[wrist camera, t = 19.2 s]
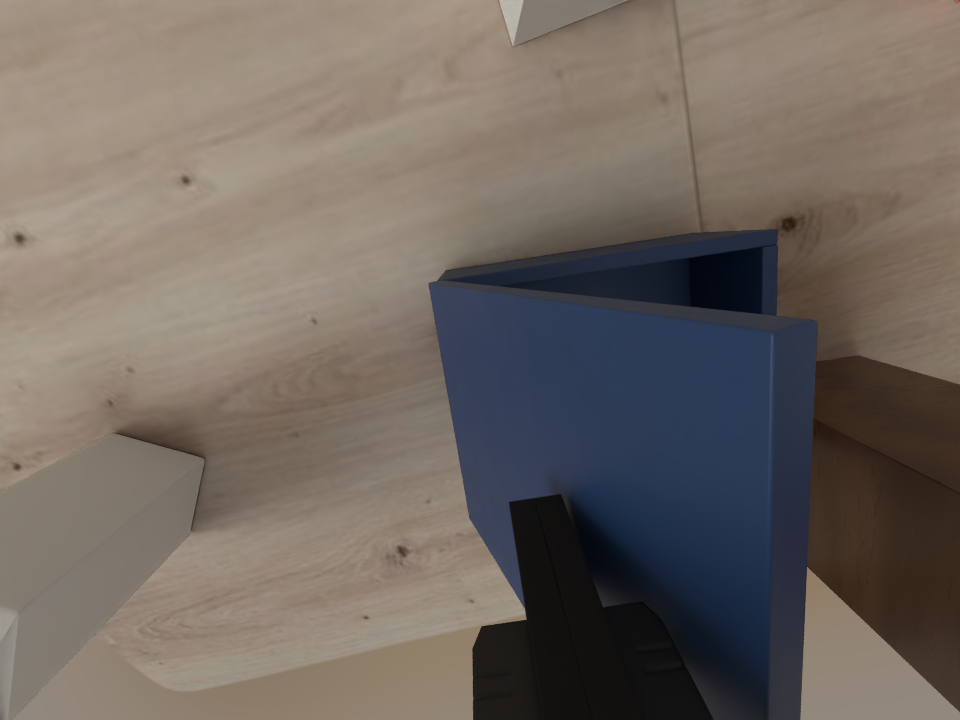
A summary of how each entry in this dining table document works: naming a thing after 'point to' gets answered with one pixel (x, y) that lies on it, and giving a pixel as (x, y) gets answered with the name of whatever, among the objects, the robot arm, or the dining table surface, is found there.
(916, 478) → the stand
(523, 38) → the white double channel rack
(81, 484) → the milk carton
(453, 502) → the dining table surface
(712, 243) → the box
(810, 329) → the lid
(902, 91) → the dining table surface
